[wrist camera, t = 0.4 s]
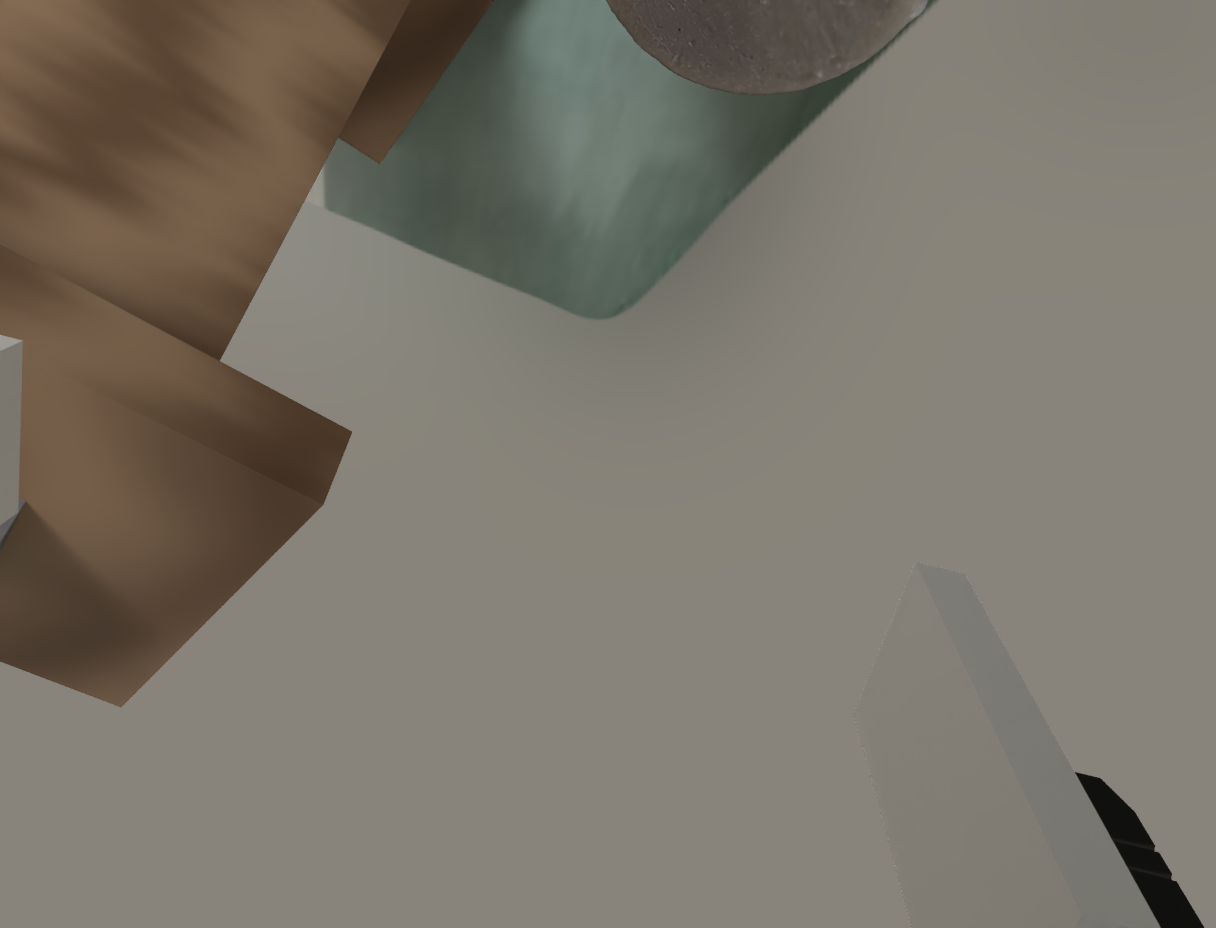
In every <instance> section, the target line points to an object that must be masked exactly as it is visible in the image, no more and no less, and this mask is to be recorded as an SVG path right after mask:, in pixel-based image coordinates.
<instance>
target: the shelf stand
mask: <svg viewBox="0 0 1216 928" xmlns="http://www.w3.org/2000/svg"><path fill="white" fill-rule="evenodd" d="M493 1H494V0H0V335H3V336H7V337H11V338H15V339H19V340H23V354H22V392H21V429H20V466H19V498H20V499H22V500H24V501H25V503H24V505H23V507H22V509H21V511H20V513H19V515H18V517H17V519H16V521H15V523H14V525H13V527H12V529H11V531H10V533H9V535H8V537H7V539H6V541H5V543H4V545H3V547H2V549H1V551H0V662H3V663H6V664H9V665H11V666H14V667H16V668H19V669H22V670H24V671H27V672H30V673H32V674H35V675H37V676H40V677H43V678H45V679H48V680H51V681H53V682H56V683H59V684H61V685H64V686H66V687H69V688H72V689H74V690H77V691H80V692H82V693H85V694H87V695H90V696H93V697H95V698H98V699H101V700H103V701H106V702H109V703H111V704H114V705H116V706H119V707H122V706H123V705H124V704H125V703H126V702H127V701H128V700H129V699H130V698H131V697H132V696H133V695H134V694H135V693H136V692H137V691H138V690H139V689H140V688H141V687H142V686H143V685H144V684H145V683H146V682H147V681H148V680H149V679H150V678H151V677H152V676H153V675H154V674H155V673H156V672H157V671H158V670H159V669H160V668H161V667H162V666H163V665H164V664H165V663H166V662H167V661H168V660H169V659H170V658H171V657H172V656H173V655H174V654H175V653H176V652H177V651H178V650H179V649H180V648H181V647H182V646H183V645H184V644H185V643H186V642H187V641H188V640H189V639H190V638H191V637H192V636H193V635H194V634H195V633H196V632H197V631H198V629H200V628H201V627H202V626H203V625H204V624H205V623H206V621H208V620H209V619H210V618H211V617H212V616H213V615H214V614H215V613H216V612H217V611H218V610H219V609H220V608H221V606H223V605H224V604H225V603H226V602H227V601H228V600H229V599H230V597H232V596H233V595H234V593H236V592H237V591H238V590H239V589H240V588H241V587H242V586H243V585H244V584H245V583H246V582H247V581H248V580H249V579H250V578H251V577H252V575H254V574H255V573H256V572H257V571H258V569H260V568H261V567H262V565H264V564H265V563H266V561H268V560H269V559H270V557H271V556H273V555H274V553H275V552H277V551H278V549H280V548H281V547H282V546H283V545H284V544H285V542H286V541H288V540H289V538H291V536H292V535H294V534H295V533H296V531H298V530H299V528H300V527H301V526H303V525H304V524H305V522H307V521H308V520H309V518H311V516H312V515H313V514H314V513H315V512H316V511H317V510H318V509H319V508H320V507H321V506H322V505H323V504H324V502H325V499H326V496H327V494H328V492H329V489H330V486H331V484H332V482H333V479H334V477H335V474H336V472H337V469H338V466H339V464H340V462H341V459H342V457H343V454H344V452H345V449H346V447H347V444H348V441H349V439H350V436H351V434H352V431H350V430H348V429H346V428H344V427H342V426H340V425H338V424H337V423H335V422H333V421H331V420H329V419H327V418H325V417H323V416H322V415H320V414H318V413H316V412H314V411H312V410H310V409H308V408H307V407H305V406H303V405H301V404H299V403H297V402H295V401H293V400H292V399H290V398H288V397H286V396H284V395H282V394H280V393H278V392H276V391H275V390H273V389H271V388H269V387H267V386H265V385H263V384H261V383H260V382H258V381H256V380H254V379H252V378H250V377H248V376H246V375H245V374H243V373H241V372H239V371H237V370H235V369H233V368H231V367H229V366H228V365H226V364H224V363H222V362H220V359H221V357H222V355H223V353H224V352H225V350H226V348H227V346H228V344H229V342H230V340H231V338H232V336H233V334H234V333H235V330H236V329H237V327H238V325H239V323H240V321H241V319H242V318H243V316H244V313H245V312H246V310H247V308H248V306H249V304H250V302H251V300H252V299H253V297H254V295H255V293H256V291H257V289H258V287H259V285H260V283H261V282H262V280H263V278H264V276H265V274H266V272H267V270H268V268H269V267H270V265H271V263H272V261H273V259H274V257H275V255H276V253H277V252H278V250H279V248H280V246H281V244H282V242H283V240H284V238H285V236H286V235H287V233H288V231H289V229H290V227H291V225H292V223H293V221H294V219H295V217H296V216H297V214H298V212H299V210H300V208H301V206H302V204H303V202H304V201H305V199H306V197H307V195H308V193H309V191H310V189H311V187H312V186H313V184H314V182H315V180H316V178H317V176H318V174H319V172H320V170H321V169H322V167H323V165H324V163H325V161H326V159H327V157H328V155H329V153H330V152H331V150H332V148H333V146H334V144H335V142H336V140H337V138H338V137H339V138H340V139H342V140H343V141H345V142H347V143H348V144H350V145H351V146H353V147H354V148H356V149H357V150H359V151H360V152H362V153H363V154H365V155H366V156H368V157H369V158H371V159H373V160H374V161H376V162H377V163H379V164H380V163H381V161H382V160H383V158H384V157H385V156H386V154H387V153H388V151H389V150H390V148H391V147H392V146H393V144H394V143H395V141H396V140H397V138H398V137H399V136H400V134H401V133H402V131H403V130H404V128H405V127H406V125H407V124H408V123H409V121H410V120H411V118H412V117H413V115H414V114H415V113H416V111H417V110H418V108H419V107H420V105H421V104H422V102H423V101H424V100H425V98H426V97H427V95H428V94H429V92H430V91H431V90H432V88H433V87H434V85H435V84H436V82H437V81H438V80H439V78H440V77H441V75H442V74H443V72H444V71H445V69H446V68H447V67H448V65H449V64H450V62H451V61H452V59H453V58H454V57H455V55H456V54H457V52H458V51H459V49H460V48H461V47H462V45H463V44H464V42H465V41H466V39H467V38H468V36H469V35H470V34H471V32H472V31H473V29H474V28H475V26H476V25H477V24H478V22H479V21H480V19H481V18H482V16H483V15H484V14H485V12H486V11H487V9H488V8H489V6H490V5H491V3H492V2H493Z"/></svg>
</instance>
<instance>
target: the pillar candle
mask: <svg viewBox="0 0 1216 928" xmlns="http://www.w3.org/2000/svg"><path fill="white" fill-rule="evenodd" d="M606 1H607V3H608V4H609V6H610V8H611V11H612V12H613V13H614V14H615V15H616V17H617V19H618V20H619V21H620V23H621V24H622V25H623V26H624V27H625V28H626V30H627V32H628V33H629V34H630V35H631V36H632V37H633V39H634V41H635V42H636V43H637V44H638V45H639V46H640V47H641V48H642V49H643V50H644V51H646V52H647V53H649V54H650V55H651V56H653V57H654V58H656V59H657V60H658V61H659V62H660V63H661V64H662V65H664V66H665V67H667V68H668V69H669V70H671V71H672V72H674V73H676V74H677V75H679V76H681V77H683V78H685V79H688V80H690V81H692V82H695V83H698V84H701V85H703V86H706V87H709V88H712V89H717V90H722V91H726V92H731V93H733V94H734V93H737V94H745V95H748V94H752V95H766V94H777V93H787V92H794V91H799V90H803V89H806V88H809V87H811V86H815V85H817V84H820V83H823V82H826V81H828V80H830V79H833V78H836V77H839V76H840V75H841V74H843V73H846V72H848V71H849V70H850V69H852V68H854V67H856V66H858V65H859V64H862V63H864V62H865V61H866V60H867V59H869V58H871V57H872V56H873V55H874V54H876V53H878V52H879V51H880V50H881V49H882V48H883V47H884V46H885V45H886V44H887V43H888V42H889V41H890V40H892V39H893V38H894V37H895V36H896V35H897V34H898V33H899V31H900V30H902V29H903V28H904V27H905V26H906V25H907V24H908V23H909V22H911V21H913V20H914V19H915V17H918V16H919V15H920V14H921V13H922V12H923V11H924V9H925V8H926V4H927V3H928V0H606Z"/></svg>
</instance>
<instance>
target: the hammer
mask: <svg viewBox="0 0 1216 928" xmlns="http://www.w3.org/2000/svg"><path fill="white" fill-rule="evenodd" d="M24 503H25V501H24V500H22V499H20V498H19V503H18V513H16V514H15V515H14V516H12V517H11V518H9V519H8V520H7V521H5V522H4V523H3V524H1V525H0V551H1V549H2V547H3V545H4V543H5V541H6V539H7V537H8V535H9V533H10V531H11V529H12V527H13V525H14V523H15V521H16V519H17V517H18V515H19V513H20V511H21V509H22V507H23V505H24Z"/></svg>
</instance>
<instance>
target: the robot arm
mask: <svg viewBox="0 0 1216 928" xmlns="http://www.w3.org/2000/svg"><path fill="white" fill-rule="evenodd" d="M22 354H23V340H19V339H15V338H11V337H7V336H3V335H0V525H1V524H3V523H4V522H5V521H7V520H8V519H9V518H11V517H12V516H14V515H15V514H16V513H18V503H19V466H20V429H21V392H22ZM853 714H854V718H855V722H856V725H857V729H858V732H859V736H860V739H861V744H862V747H863V751H864V755H865V758H866V762H867V766H868V769H869V773H870V777H871V780H872V784H873V787H874V791H875V795H876V799H877V802H878V806H879V810H880V813H881V817H882V820H883V824H884V828H885V831H886V835H887V839H888V843H889V846H890V850H891V854H892V857H893V861H894V865H895V868H896V872H897V876H898V879H899V883H900V887H901V890H902V894H903V898H904V901H905V905H906V909H907V912H908V916H909V920H910V923H911V927H912V928H1204V926H1203V925H1202V923H1201V921H1200V920H1199V918H1198V916H1197V915H1196V913H1195V911H1194V910H1193V908H1192V906H1191V905H1190V903H1189V901H1188V900H1187V898H1186V896H1185V895H1184V893H1183V892H1182V890H1181V888H1180V887H1179V885H1178V883H1177V882H1176V881H1173V880H1171V876H1172V873H1171V872H1170V870H1169V868H1168V866H1167V865H1166V863H1165V862H1164V860H1163V858H1162V857H1161V855H1160V854H1159V853H1158V852H1154V848H1155V845H1154V843H1153V842H1152V840H1151V838H1150V837H1149V835H1148V833H1147V832H1146V830H1145V828H1144V827H1143V825H1142V823H1141V822H1140V820H1139V818H1138V817H1137V815H1136V813H1135V812H1134V811H1133V810H1132V809H1131V808H1130V807H1129V806H1128V805H1127V804H1126V803H1125V802H1124V801H1123V800H1122V799H1121V798H1120V797H1119V796H1118V795H1117V794H1116V793H1115V792H1114V791H1113V790H1112V789H1111V788H1110V787H1109V786H1108V785H1106V783H1105V782H1103V780H1102V779H1100V778H1097V777H1093V776H1088V775H1085V774H1081V773H1076V772H1074V770H1073V768H1072V766H1071V765H1070V763H1069V761H1068V759H1067V757H1066V756H1065V754H1064V752H1063V750H1062V748H1061V746H1060V745H1059V743H1058V741H1057V739H1056V737H1055V736H1054V734H1053V732H1052V730H1051V729H1050V727H1049V725H1048V723H1047V721H1046V719H1045V718H1044V716H1043V714H1042V712H1041V710H1040V709H1039V707H1038V705H1037V703H1036V701H1035V699H1034V698H1033V696H1032V694H1031V692H1030V690H1029V689H1028V687H1027V685H1026V683H1025V681H1024V680H1023V678H1022V676H1021V674H1020V672H1019V670H1018V669H1017V667H1016V665H1015V663H1014V661H1013V660H1012V658H1011V656H1010V655H1009V652H1008V651H1007V649H1006V647H1005V645H1004V643H1003V642H1002V640H1001V638H1000V636H999V634H998V633H997V631H996V629H995V627H994V625H993V623H992V622H991V620H990V618H989V616H988V614H987V613H986V611H985V609H984V607H983V605H982V604H981V602H980V600H979V598H978V596H977V595H976V593H975V591H974V589H973V587H972V585H971V584H970V582H969V580H968V578H967V576H966V575H965V574H963V573H959V572H955V571H951V570H947V569H942V568H938V567H935V566H930V565H927V564H923V563H918V562H915V563H914V566H913V568H912V571H911V573H910V576H909V578H908V580H907V583H906V585H905V588H904V590H903V593H902V595H901V597H900V600H899V602H898V605H897V607H896V610H895V612H894V615H893V617H892V620H891V622H890V624H889V627H888V629H887V632H886V634H885V637H884V639H883V642H882V644H881V646H880V649H879V651H878V654H877V656H876V659H875V661H874V664H873V666H872V668H871V671H870V673H869V676H868V679H867V681H866V683H865V686H864V688H863V690H862V693H861V696H860V698H859V700H858V703H857V705H856V708H855V710H854V713H853Z"/></svg>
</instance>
